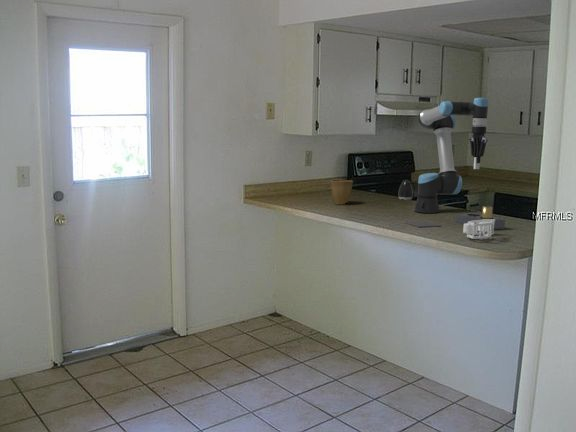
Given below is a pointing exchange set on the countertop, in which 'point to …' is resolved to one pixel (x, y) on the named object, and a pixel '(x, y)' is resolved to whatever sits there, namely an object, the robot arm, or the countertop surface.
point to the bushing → (486, 212)
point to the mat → (423, 224)
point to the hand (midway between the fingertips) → (476, 168)
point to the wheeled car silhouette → (479, 228)
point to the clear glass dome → (405, 190)
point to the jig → (468, 217)
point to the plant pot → (341, 190)
